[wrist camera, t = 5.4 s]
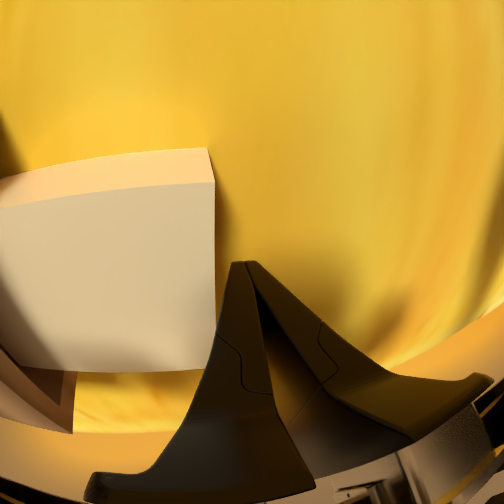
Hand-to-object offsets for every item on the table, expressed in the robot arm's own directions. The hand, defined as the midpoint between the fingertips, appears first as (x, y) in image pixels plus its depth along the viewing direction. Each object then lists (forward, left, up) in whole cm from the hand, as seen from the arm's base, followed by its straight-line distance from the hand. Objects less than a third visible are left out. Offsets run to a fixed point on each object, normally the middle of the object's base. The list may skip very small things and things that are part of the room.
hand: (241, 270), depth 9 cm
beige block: (+6, 0, -2) cm, 6 cm away
